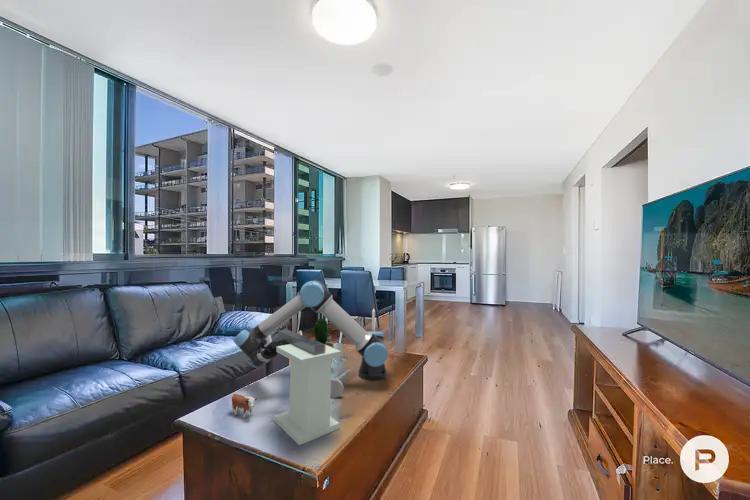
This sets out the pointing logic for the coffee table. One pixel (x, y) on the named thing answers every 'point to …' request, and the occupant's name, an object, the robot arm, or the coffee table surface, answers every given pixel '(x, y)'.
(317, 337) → the potted cactus
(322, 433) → the stand
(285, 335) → the bar
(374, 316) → the candlestick
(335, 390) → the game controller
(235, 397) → the bull figurine
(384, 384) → the coffee table surface
